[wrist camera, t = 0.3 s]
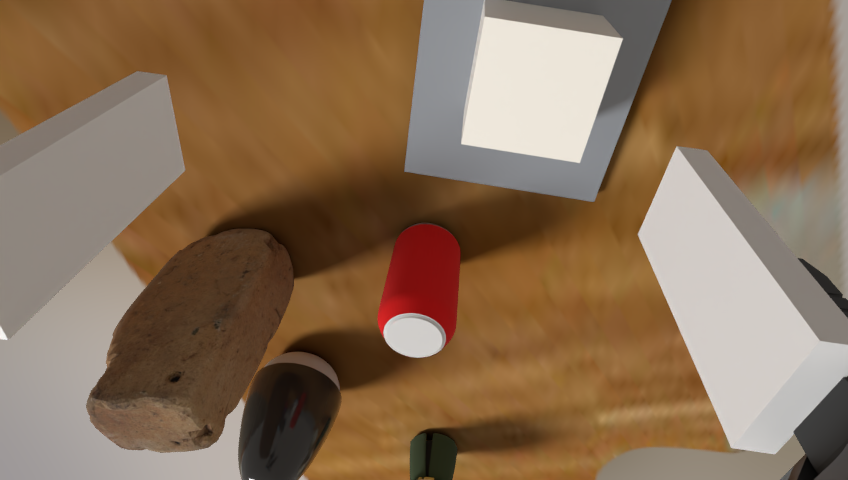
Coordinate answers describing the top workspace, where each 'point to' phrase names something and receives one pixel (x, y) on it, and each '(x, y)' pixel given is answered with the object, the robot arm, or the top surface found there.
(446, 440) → the character mug
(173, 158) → the robot arm
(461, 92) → the build base
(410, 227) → the beverage can
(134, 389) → the block
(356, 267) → the top surface
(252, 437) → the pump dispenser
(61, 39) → the top surface
